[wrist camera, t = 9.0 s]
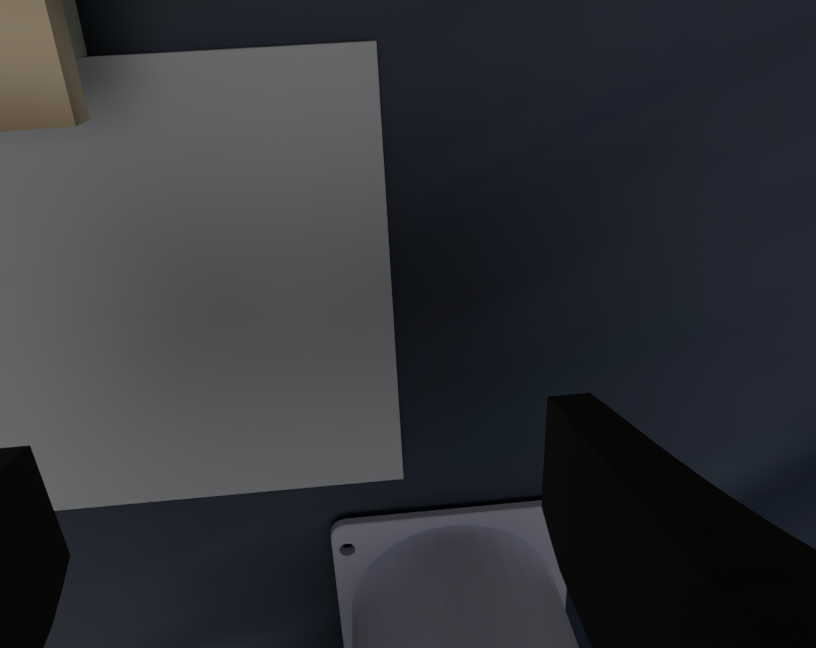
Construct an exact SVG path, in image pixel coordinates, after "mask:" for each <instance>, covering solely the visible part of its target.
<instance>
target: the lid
mask: <svg viewBox="0 0 816 648" xmlns="http://www.w3.org/2000/svg"><path fill="white" fill-rule="evenodd" d="M88 120H90V118H89V114H88V110H87V106H86V102H85V97H84V93H83V89H82V85H81V81H80V77H79V72H78V68H77V64H76V60H75V56H74V51H73V47H72V43H71V39H70V35H69V31H68V26H67V22H66V18H65V14H64V10H63V6H62V1H61V0H0V132H3V131H17V130H32V129H46V128H61V127H75V126H78V125H80V124H82V123H84V122H86V121H88Z"/></svg>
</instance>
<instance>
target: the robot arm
mask: <svg viewBox="0 0 816 648" xmlns="http://www.w3.org/2000/svg"><path fill="white" fill-rule="evenodd" d="M331 544H332V552H333V561H334V569H335V577H336V586H337V594H338V602H339V611H340V619H341V627H342V636H343V644H344V648H579V646H578V644H577V641H576V638H575V635H574V633H573V630H572V627H571V625H570V622H569V619H568V616H567V614H566V611H565V608H566V591H567V590H568V592H569V594H570V597H571V599H572V601H573V604H574V606H575V609H576V611H577V613H578V616H579V618H580V621H581V623H582V625H583V628H584V630H585V632H586V635H587V637H588V639H589V642H590V644H591V646H592V648H816V549H814V548H812V547H810V546H809V545H807V544H805V543H803V542H801V541H800V540H798V539H796V538H795V537H793V536H791V535H790V534H788V533H786V532H785V531H783V530H781V529H780V528H778V527H777V526H775V525H773V524H772V523H770V522H769V521H767V520H766V519H764V518H762V517H761V516H759V515H758V514H756V513H755V512H753V511H752V510H750V509H749V508H747V507H746V506H744V505H742V504H741V503H739V502H738V501H736V500H735V499H733V498H732V497H730V496H729V495H727V494H726V493H724V492H723V491H721V490H720V489H718V488H717V487H716V486H714V485H713V484H711V483H710V482H708V481H707V480H705V479H704V478H703V477H701V476H700V475H698V474H697V473H696V472H694V471H693V470H691V469H690V468H689V467H687V466H686V465H684V464H683V463H682V462H680V461H679V460H678V459H676V458H675V457H674V456H672V455H671V454H669V453H668V452H667V451H665V450H664V449H663V448H661V447H660V446H659V445H657V444H656V443H655V442H654V441H652V440H651V439H650V438H648V437H647V436H646V435H644V434H643V433H642V432H640V431H639V430H638V429H637V428H635V427H634V426H633V425H631V424H630V423H629V422H627V421H626V420H625V419H624V418H622V417H621V416H620V415H618V414H617V413H616V412H615V411H613V410H612V409H611V408H609V407H608V406H607V405H605V404H604V403H603V402H601V401H600V400H599V399H597V398H596V397H595V396H593V395H592V394H590V393H583V394H572V395H561V396H551V397H548V402H547V419H546V435H545V452H544V469H543V485H542V500H539V501H529V502H518V503H507V504H497V505H486V506H476V507H465V508H454V509H444V510H433V511H423V512H412V513H401V514H391V515H380V516H369V517H359V518H348V519H342V520H339V521H337V522H336V523H334V525H333V526H332V528H331ZM344 544H352V545H353V546H352V547H349V548H346V547H343V546H342V545H344ZM69 559H70V553H69V550H68V548H67V545H66V542H65V539H64V537H63V534H62V531H61V528H60V526H59V523H58V520H57V517H56V515H55V512H54V509H53V507H52V504H51V501H50V498H49V496H48V493H47V490H46V487H45V485H44V482H43V479H42V477H41V474H40V471H39V468H38V466H37V463H36V460H35V457H34V455H33V452H32V449H31V446H30V445H29V446H18V447H7V448H0V648H43V647H44V645H45V642H46V640H47V637H48V635H49V632H50V629H51V627H52V624H53V620H54V617H55V613H56V610H57V606H58V603H59V599H60V595H61V592H62V587H63V583H64V579H65V575H66V571H67V567H68V563H69Z"/></svg>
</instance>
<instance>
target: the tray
mask: <svg viewBox="0 0 816 648" xmlns="http://www.w3.org/2000/svg"><path fill="white" fill-rule="evenodd" d="M61 1H62V6H63V10H64V14H65V18H66V22H67V26H68V31H69V35H70V39H71V43H72V47H73V51H74V56H75V58H79V57H83V56H87V51H86V47H85V42H84V38H83V33H82V29H81V25H80V20H79V16H78V11H77V7H76V2H75V0H61Z"/></svg>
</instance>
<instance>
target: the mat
mask: <svg viewBox="0 0 816 648" xmlns="http://www.w3.org/2000/svg"><path fill="white" fill-rule="evenodd" d="M75 60H76V64H77V68H78V72H79V77H80V81H81V85H82V89H83V93H84V97H85V102H86V106H87V110H88V114H89V118H90V120H88V121H86V122H84V123H82V124H80V125H78V126H75V127H61V128H46V129H32V130H17V131H3V132H0V448H7V447H18V446H29V445H30V446H31V449H32V452H33V455H34V457H35V460H36V463H37V466H38V468H39V471H40V474H41V477H42V479H43V482H44V485H45V487H46V490H47V493H48V496H49V498H50V501H51V504H52V507H53V509H54V511H57V510H68V509H79V508H90V507H101V506H112V505H123V504H134V503H145V502H156V501H167V500H178V499H188V498H199V497H210V496H221V495H232V494H243V493H254V492H265V491H276V490H287V489H298V488H309V487H320V486H331V485H341V484H352V483H363V482H374V481H385V480H396V479H403V463H402V447H401V431H400V415H399V399H398V383H397V367H396V351H395V334H394V318H393V302H392V286H391V270H390V254H389V238H388V222H387V206H386V190H385V174H384V158H383V142H382V125H381V109H380V93H379V77H378V61H377V45H376V40H371V41H353V42H335V43H317V44H300V45H282V46H264V47H246V48H228V49H211V50H193V51H175V52H157V53H140V54H122V55H104V56H86V57H79V58H75Z"/></svg>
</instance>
